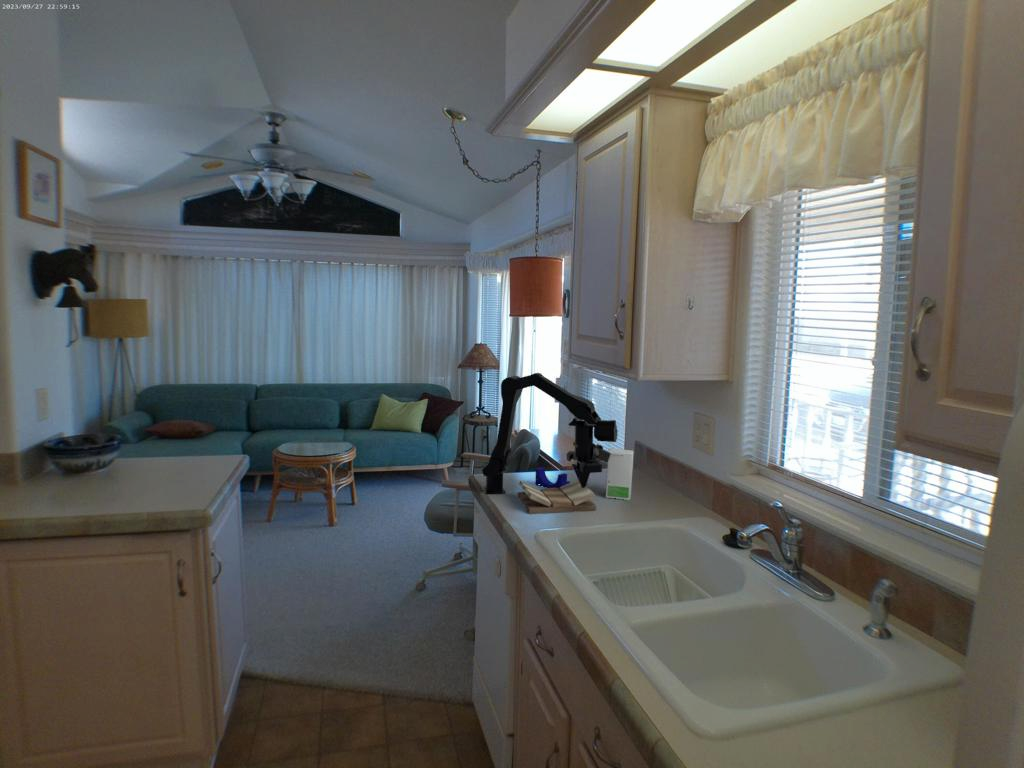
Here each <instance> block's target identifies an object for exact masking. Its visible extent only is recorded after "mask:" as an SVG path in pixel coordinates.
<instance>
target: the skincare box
mask: <svg viewBox="0 0 1024 768" xmlns="http://www.w3.org/2000/svg"><path fill="white" fill-rule="evenodd" d="M608 452H609V453H611V455H610V457H609V460H608V463H607V465H606V466H607V467H606V469H607V470H606V481H605V482H606V485H605V498H607V499H614V498H616V499H615V500H623V499H624V501H625V500H626V501H630V500H631V497H632V480H633V479H632V478H633V469H634V468H633V465H634V450H629V449H622V448H612V447H611V448H608Z"/></svg>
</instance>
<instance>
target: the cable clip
mask: <svg viewBox="0 0 1024 768" xmlns="http://www.w3.org/2000/svg"><path fill="white" fill-rule="evenodd" d="M545 469H546V468H545V467H538V468H535V478H534V479H535V482H534V483H535V484H536V485H535V486H538V484H540V485H539V486H538V487H541V486H543V487H542V488H545V487H546V488H559V487H562V486H564V485H566V484H569V483H571V481H568V473H564V472H563V473H559V474H557V479H556V481H555V482H552V481H550V479H549V478H548V477H547V475H546V470H545ZM559 489H560V488H559Z"/></svg>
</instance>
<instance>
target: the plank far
mask: <svg viewBox="0 0 1024 768" xmlns="http://www.w3.org/2000/svg"><path fill="white" fill-rule="evenodd" d="M559 488H560V490H561V492H562V493H563V494H564V495H565V496H566V497H567V498H568V499H569V500H570V501H571V502H572V503H573V504H574V505H578V504H580V503H582V502H585V501H587V500H591V499H594V498H596V495H595V493H594V492H593V491H592V490H591V489H590V488H589V487H588V486H586V487H584V488H582V487H581V485H580V482H579V480H578V479H576V480H574V481H572V482H571V481H570V483H569V484H566V485H564V486H562V487H559Z"/></svg>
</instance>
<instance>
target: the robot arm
mask: <svg viewBox="0 0 1024 768" xmlns="http://www.w3.org/2000/svg"><path fill="white" fill-rule="evenodd" d="M530 387H536V388H537V389H539V390H540V391H542V392H543V393H545V394H546V395H548V396H549V397H551V398H552V399H554V400H556V401H557V402H559V403H560V404H562V405H563V406H564V407H565V408H566V409H567V410H568V412H570V413H571V415H573V416H574V417H573V418H572V420H571V422H569V423H568V426H569V427H574V441H573V442H572V445H573V446H574V450H570V451H568V452H567V453H566V461H568V462H571V461H572V460H573V461H574V462H573V463H572V464H571V467H572V468H573V471H574V473H575V475H576V478H577V480H579V482H580V485H581V487H582V488H584V487H587V484H588V481H589V477H590V475H591V474H593V473H595V474H597V473H602V472H603V465H602V464H601V463H600V462H598V461H597V460H600V461H603V462H605V463H607V464H608V460H609V457H610V455H611V453H609V450H605V449H604V446H603V445H601V444H595V443H594V438H595V440H597V442H608V443H609V442H610V443H611V442H612V443H616V442H617V439H618V431H619V429H618V425H617V421H616V420H614V419H610V420H609V419H608V420H607V419H606V420H605V419H602V418H601V417H600V415H599V413H597V411H596V408H595V407H596V406H595V404H594V402H593V401H591V400H589V399H586V398H584V397H582V396H579V395H576V394H573V393H571V392H569V391H567V389H565V388H563V387H561V386H560V385H559V384H556V383H555V382H553V381H552V380H550V379H549V378H547V377H545V376H544V375H543V374H542V373H540V372H535V373H532V374H530V375H525V376H518V375H511V376H509V377H506V378H504V379H503V380H502V381H501V384H500V395H501V397H500V398H501V401H502V407H501V413H500V420H499V423H498V424H499V426H498V431H497V432H498V433H497V438H496V444H495V446H494V447H493V450H492V452H491V454H490V458H489V460H488V464H487V465H486V466H484V468H482V469H481V471H482V474H483V477H485V487H484V486H483V490H484V492H485V494H486V495H492V494H497V495H498V494H506V490H505V488H504V472H506V470H507V469H508V467H509V466H510V465H511V464H512V463H513V462H514V454H515V452H516V451H515V449H512V448H511V438H512V432H513V428H514V421H515V414H516V410H517V409H516V407H517V403H518V402H519V399H520V398H521V395H522V392H523V389H526V388H530Z"/></svg>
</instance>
